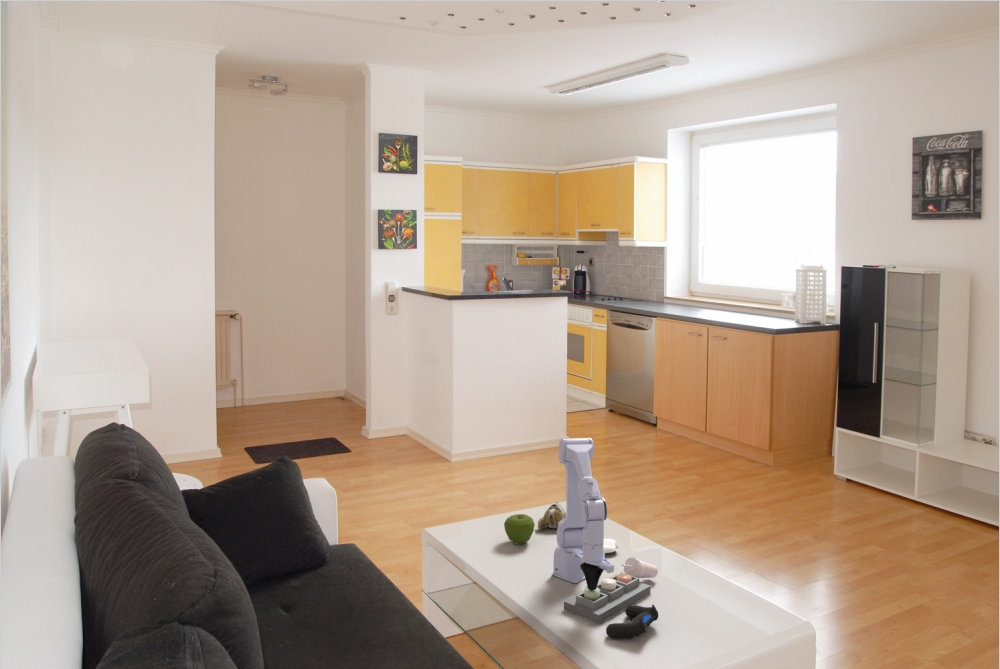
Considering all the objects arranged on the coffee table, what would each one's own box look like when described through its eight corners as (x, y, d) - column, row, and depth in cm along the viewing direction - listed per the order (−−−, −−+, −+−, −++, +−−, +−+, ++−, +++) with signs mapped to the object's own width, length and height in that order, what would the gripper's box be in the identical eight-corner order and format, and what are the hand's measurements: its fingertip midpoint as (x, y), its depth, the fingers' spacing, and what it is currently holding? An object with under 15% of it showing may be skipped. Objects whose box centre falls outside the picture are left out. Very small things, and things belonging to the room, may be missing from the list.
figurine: (609, 561, 251) (611, 510, 251) (556, 552, 259) (558, 503, 259) (625, 546, 270) (627, 499, 269) (575, 539, 277) (577, 493, 277)
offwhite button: (597, 588, 223) (597, 581, 223) (606, 583, 226) (606, 577, 226) (610, 593, 220) (610, 586, 220) (619, 588, 223) (619, 581, 223)
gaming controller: (611, 650, 201) (643, 639, 196) (601, 629, 203) (632, 618, 198) (635, 624, 216) (665, 614, 211) (626, 604, 217) (655, 594, 212)
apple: (515, 534, 277) (516, 507, 276) (540, 541, 271) (540, 513, 269) (497, 543, 268) (498, 515, 267) (523, 550, 262) (523, 521, 261)
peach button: (613, 583, 229) (613, 577, 229) (621, 579, 232) (622, 572, 232) (626, 587, 226) (626, 581, 226) (634, 583, 229) (634, 576, 229)
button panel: (563, 609, 218) (564, 594, 218) (616, 582, 237) (616, 567, 237) (598, 623, 210) (599, 608, 210) (650, 593, 229) (650, 579, 229)
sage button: (580, 597, 217) (581, 590, 217) (590, 592, 221) (590, 585, 220) (593, 602, 214) (593, 595, 214) (603, 597, 218) (603, 590, 217)
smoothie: (664, 570, 236) (632, 565, 229) (653, 586, 238) (621, 582, 230) (652, 556, 241) (621, 550, 234) (641, 572, 243) (610, 567, 235)
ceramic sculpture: (571, 498, 290) (565, 513, 276) (571, 520, 291) (565, 536, 277) (543, 496, 292) (535, 511, 278) (543, 518, 294) (536, 534, 279)
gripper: (622, 546, 213) (621, 594, 214) (585, 531, 224) (584, 576, 225) (604, 552, 208) (602, 601, 210) (567, 536, 220) (566, 583, 221)
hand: (592, 589), depth 217 cm, fingers closed
